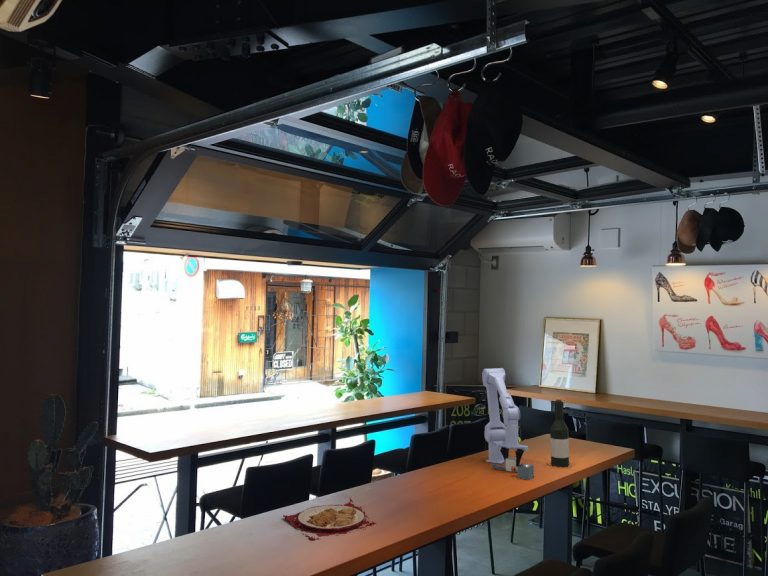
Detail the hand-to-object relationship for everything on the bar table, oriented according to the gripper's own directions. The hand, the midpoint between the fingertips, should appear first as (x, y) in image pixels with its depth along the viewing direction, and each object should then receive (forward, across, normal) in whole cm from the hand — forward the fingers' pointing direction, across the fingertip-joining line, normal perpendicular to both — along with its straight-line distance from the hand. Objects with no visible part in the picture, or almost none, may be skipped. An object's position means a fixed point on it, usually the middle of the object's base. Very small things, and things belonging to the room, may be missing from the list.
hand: (512, 465), depth 267 cm
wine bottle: (+3, +15, +21) cm, 26 cm away
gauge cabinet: (+2, +9, -7) cm, 12 cm away
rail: (+2, 0, 0) cm, 2 cm away
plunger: (+1, +5, -7) cm, 9 cm away
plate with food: (+3, -28, -94) cm, 98 cm away
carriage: (+2, 0, 0) cm, 2 cm away
